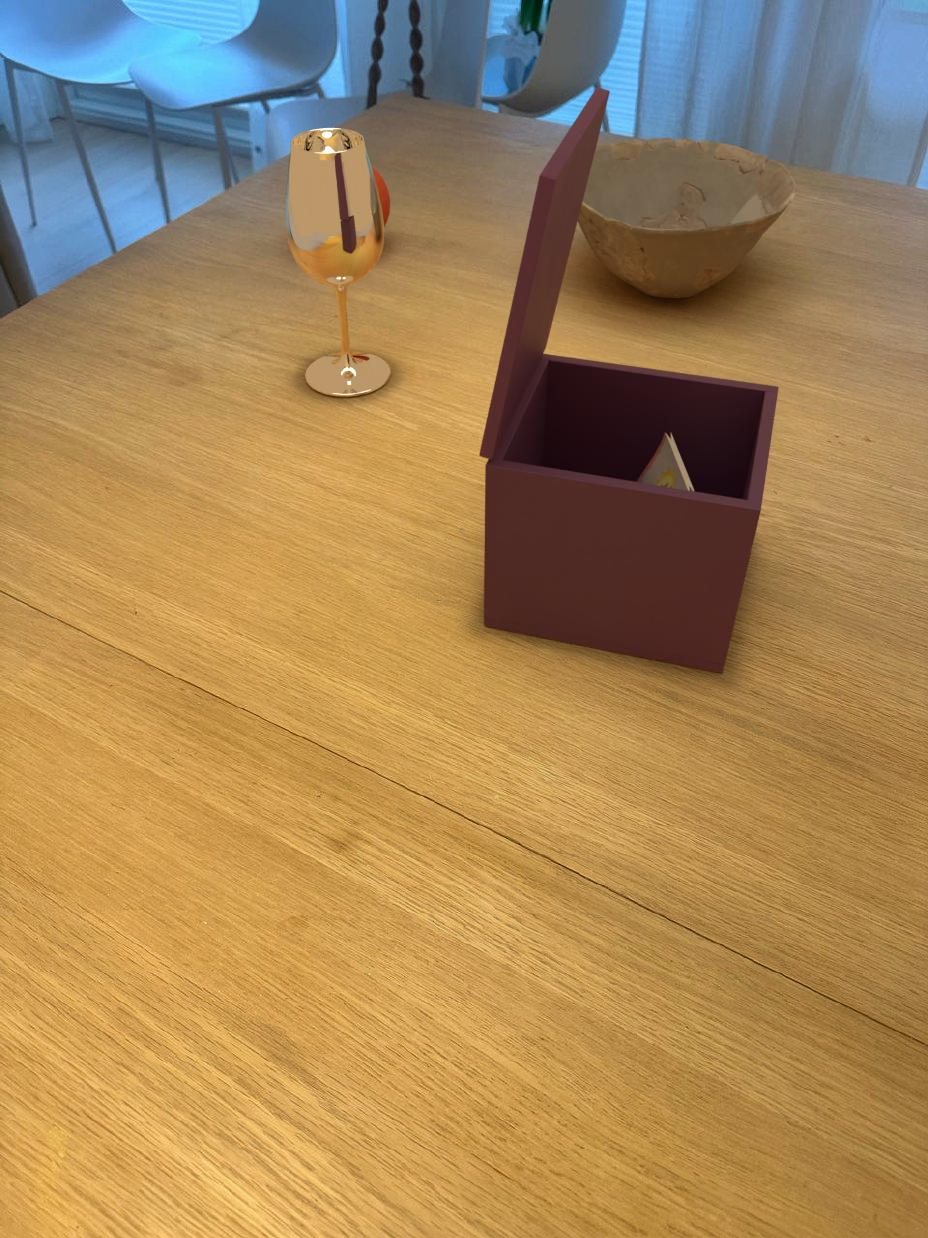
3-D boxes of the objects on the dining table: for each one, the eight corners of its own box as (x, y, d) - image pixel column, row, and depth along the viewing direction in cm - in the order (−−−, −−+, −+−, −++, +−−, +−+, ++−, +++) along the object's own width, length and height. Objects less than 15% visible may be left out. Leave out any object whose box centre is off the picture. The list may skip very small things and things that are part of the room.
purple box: (743, 543, 76) (779, 385, 67) (722, 674, 66) (760, 510, 57) (532, 506, 79) (540, 352, 70) (483, 626, 69) (485, 464, 61)
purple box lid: (610, 89, 58) (596, 86, 58) (556, 178, 49) (539, 174, 49) (545, 348, 70) (534, 344, 70) (491, 460, 60) (478, 456, 60)
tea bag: (676, 552, 74) (697, 430, 67) (699, 618, 69) (724, 493, 62) (624, 555, 73) (640, 432, 67) (643, 621, 68) (663, 496, 62)
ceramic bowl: (542, 322, 100) (547, 218, 93) (568, 225, 117) (574, 130, 110) (780, 341, 97) (804, 235, 90) (772, 238, 114) (791, 142, 107)
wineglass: (333, 346, 97) (311, 116, 83) (408, 365, 94) (397, 131, 81) (286, 386, 92) (255, 148, 78) (364, 406, 89) (345, 164, 76)
